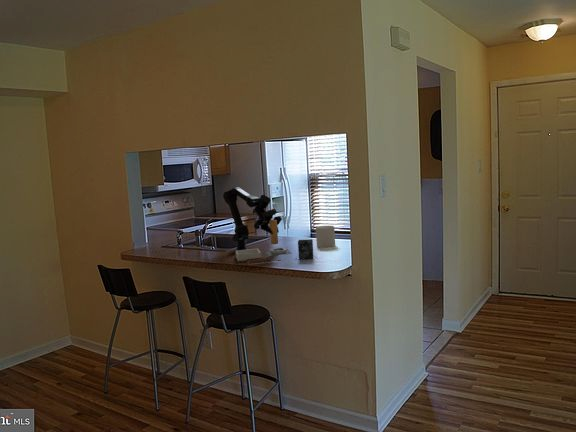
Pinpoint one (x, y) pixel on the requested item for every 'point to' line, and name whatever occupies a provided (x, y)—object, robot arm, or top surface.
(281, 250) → the socket mount
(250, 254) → the bin
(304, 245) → the box
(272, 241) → the strut
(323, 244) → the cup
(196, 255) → the top surface
